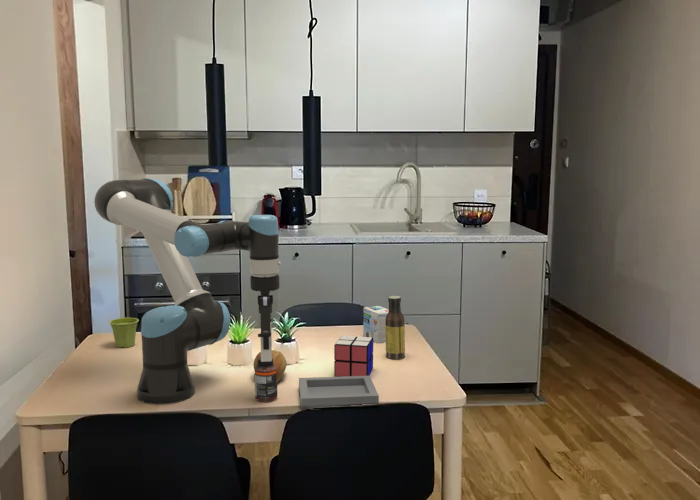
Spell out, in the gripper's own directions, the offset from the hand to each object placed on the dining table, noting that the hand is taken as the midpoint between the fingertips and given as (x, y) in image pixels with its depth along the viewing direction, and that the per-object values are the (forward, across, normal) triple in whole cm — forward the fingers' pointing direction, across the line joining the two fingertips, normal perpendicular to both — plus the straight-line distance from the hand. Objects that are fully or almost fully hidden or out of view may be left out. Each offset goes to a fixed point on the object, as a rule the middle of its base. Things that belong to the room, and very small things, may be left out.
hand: (266, 353), depth 178 cm
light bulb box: (+13, +55, -39) cm, 69 cm away
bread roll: (+13, +17, -1) cm, 21 cm away
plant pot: (+12, +55, +48) cm, 74 cm away
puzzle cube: (+13, +19, -26) cm, 35 cm away
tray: (+13, -1, -19) cm, 23 cm away
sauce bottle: (+13, +33, -41) cm, 54 cm away
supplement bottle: (+13, 0, 0) cm, 13 cm away
